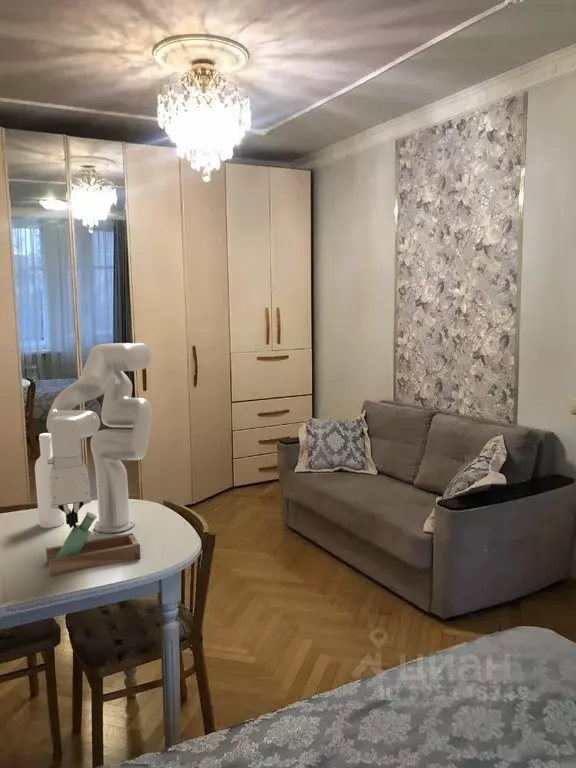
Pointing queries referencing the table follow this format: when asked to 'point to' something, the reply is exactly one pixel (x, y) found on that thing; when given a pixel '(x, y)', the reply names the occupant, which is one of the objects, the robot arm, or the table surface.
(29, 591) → the table surface
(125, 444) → the robot arm
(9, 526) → the table surface
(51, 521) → the bottle
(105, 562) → the u rest
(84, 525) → the bottle
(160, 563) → the table surface
